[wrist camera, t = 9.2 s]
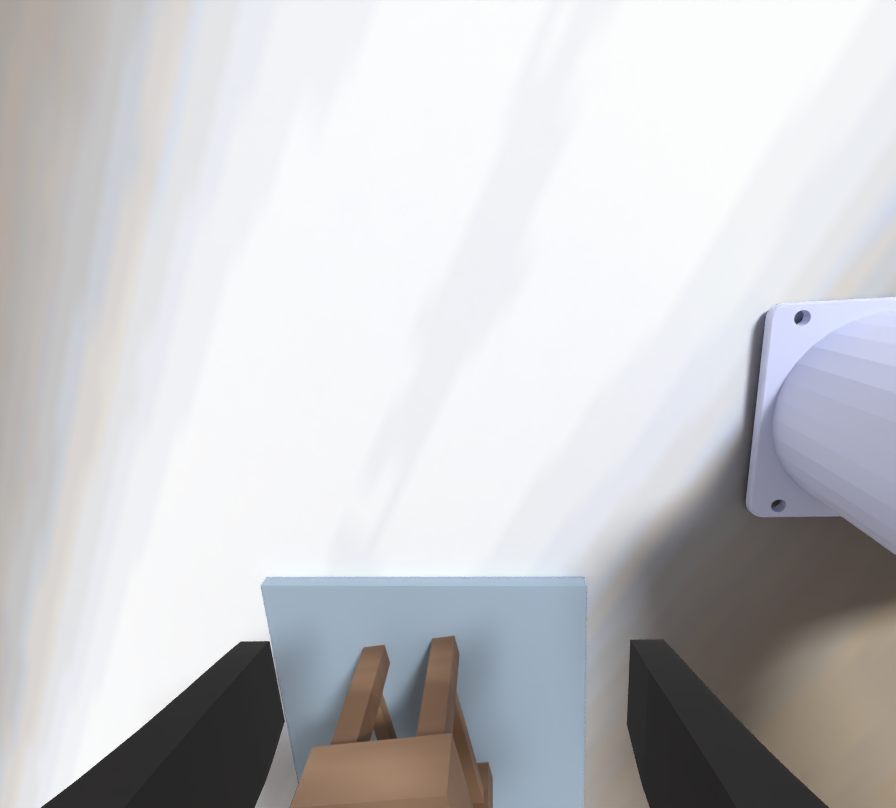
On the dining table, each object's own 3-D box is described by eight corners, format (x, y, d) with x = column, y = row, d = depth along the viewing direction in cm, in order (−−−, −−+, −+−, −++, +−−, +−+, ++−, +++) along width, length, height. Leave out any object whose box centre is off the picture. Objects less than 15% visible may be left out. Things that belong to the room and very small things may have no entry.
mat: (584, 577, 20) (586, 586, 20) (581, 821, 24) (583, 834, 24) (266, 577, 22) (260, 585, 21) (309, 808, 26) (305, 820, 25)
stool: (502, 783, 23) (506, 994, 16) (402, 791, 24) (367, 996, 17) (461, 626, 21) (446, 795, 14) (352, 640, 22) (289, 807, 15)
